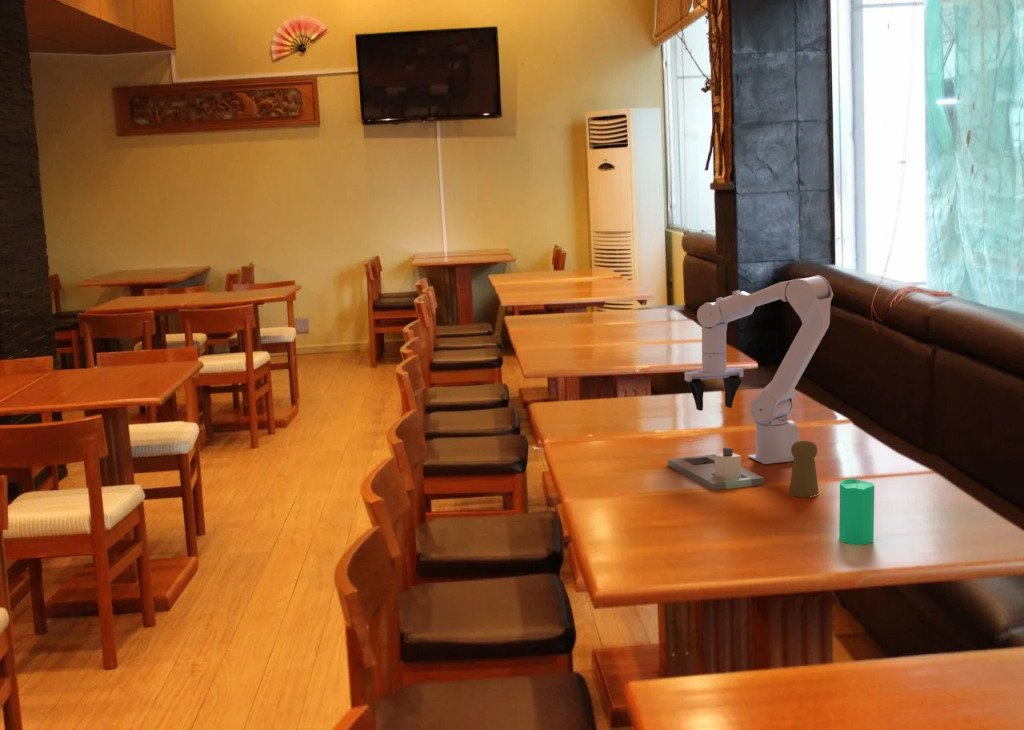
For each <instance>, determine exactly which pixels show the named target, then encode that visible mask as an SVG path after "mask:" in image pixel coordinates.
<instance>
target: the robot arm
mask: <svg viewBox="0 0 1024 730" xmlns="http://www.w3.org/2000/svg"><path fill="white" fill-rule="evenodd" d="M731 293H732V294H731V295H728V296H725V297H722V296H720V297H718V298H716V299H715V301H714V302H704V303H703V304H702V305H701V306H699V307H698V309H697V311H696V318H697V319H696V320H697V321H698V323H699V324H700V325H701V369H698V370H692V371H685V372H684V381H686V383H687V385H688V387H689V389H690V392H691V395H692V397H693V400H694V403H695V408H696V410H698V411H704V391H705V386H706V384H705V383H704V382H703V380H714V379H715V380H716V379H722V381H723V387H724V406H725V407H727V408H728V409H731V408H733V405H734V400H735V396H736V393H737V391H738V389H739V387H740V386H741V384H742V378H743V377H744V368H742V367H727V330H728V324H729V323H730V322H733V321H736V320H739V319H742V318H744V317H748V316H750V315H751V316H752V315H753V312H755V311H754V310H755V308H756V307H759V306H762V305H765V304H769V303H772V302H775V301H778V300H780V301H782V302H788V303H789V305H790V306H791V308H792V309H793V310H794V312H795V313H796V314H797V315H798V316H799V319H800V321H801V326H800V328H799V330H798V332H797V334H796V335H795V337H794V339H793V341H792V343H791V344H790V346H789V349H788V350H787V352H786V354H785V356H784V358H783V359H782V361H781V363H780V365H779V366H778V368H777V371H776V372H775V374H774V376H773V378H772V380H771V381H770V382H769V383H768V384H767V385H766V386H765V387H764V388H763V389H762V390H761V392H760V393H759V395H758V396H756V397H754V398H753V399H752V401H751V402H750V405H749V412H750V413H749V414H750V416H751V417H752V419H754V424H755V454H754V453H753V454H749V455H747V456H748V458H749V459H752V460H754V461H757V462H759V463H761V464H763V465H770V464H781V463H786V462H787V463H788V462H793V461H794V457H793V455H792V453H791V448H792V445H793V444H794V443H795V442H798V441H800V431H799V427H798V425H797V423H796V422H795V421H794V420H792V419H791V420H790V419H789V415H790V414H791V413H792V411H793V407H794V400H795V397H796V395H797V393H796V391H795V388H796V386H797V385H798V383H799V380H800V379H801V377H802V375H803V374H804V372H805V371H806V368H807V367H808V365H809V362H810V361H811V359H812V357H813V355H814V354H815V352H816V350H817V348H818V346H819V345H820V344H821V341H822V340H823V337H824V336H825V334H826V332H827V330H828V329H829V327H830V323H831V302H832V299H833V297H834V292H833V290H832V287H831V285H830V282H829V281H828V280H827V279H826V277H824V276H821V275H813V276H810V277H804V278H795V279H791V280H786V281H779V282H778V283H774V284H772V285H770V286H768V287H766V288H763V289H760V290H757V291H755V292H752V293H749V292H747V291H744V290H742V291H741V290H740V289H738V290H733V291H732V292H731ZM741 377H742V378H741Z"/></svg>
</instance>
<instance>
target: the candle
mask: <svg viewBox="0 0 1024 730" xmlns="http://www.w3.org/2000/svg"><path fill="white" fill-rule="evenodd" d="M838 524H839V525H838V527H839V529H838V530H839V531H838V538H839V541H840V542H842V543H844V542H845V543H844V544H847V543H848V545H852V544H853V546H863V545H862V544H865V545H869V544H868V543H870V544H872V543H873V542H874V535H875V533H874V531H875V526H874V525H875V484H874V483H873V482H869V481H865V480H861V479H858V474H857V475H856V479H855V478H847V479H843V480H841V481H839V523H838ZM872 541H873V542H872ZM871 542H872V543H871ZM856 544H858V545H856Z"/></svg>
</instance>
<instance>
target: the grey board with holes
mask: <svg viewBox="0 0 1024 730" xmlns="http://www.w3.org/2000/svg"><path fill="white" fill-rule="evenodd" d="M715 454H716V453H714V454H704V455H697V456H695V455H694V456H686V457H678V458H677V457H676V458H667V465H668V466H667V467H670V468H672V469H673V470H675V471H677V472H679V473H681V474H682V475H685V476H686V477H688V478H689V479H691V480H693V481H695V482H697V483H698V484H701V485H702V486H703V487H706V488H707V489H709V490H711V491H721V490H727V489H728V490H730V489H735V488H736V489H738V488H745V487H746V488H747V487H755V486H763V485H765V477H763V476H762V475H760V474H757V473H755V472H753V471H751V470H749V469H747V468H745V467H743V466H741V478H739V479H731V480H721V479H719V478H717V477H715Z"/></svg>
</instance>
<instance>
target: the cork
mask: <svg viewBox="0 0 1024 730" xmlns="http://www.w3.org/2000/svg"><path fill="white" fill-rule="evenodd" d="M791 453H792V455H793V457H794V461H792V468H791V476H790V483H789V490H788V494H789V495H790V496H791V495H793V496H792V497H794V496H799V497H798V498H800V497H810V496H814V495H817V494H818V493H819V494H820V492H819V486H818V485H819V484H818V476H817V469H816V461H815V459H816V456H817V455H818V454H817V453H818V447H817V445H816V444H815V442H812V441H808V440H799V441H798V442H795V443H794V444H793V445H792V448H791Z"/></svg>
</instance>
